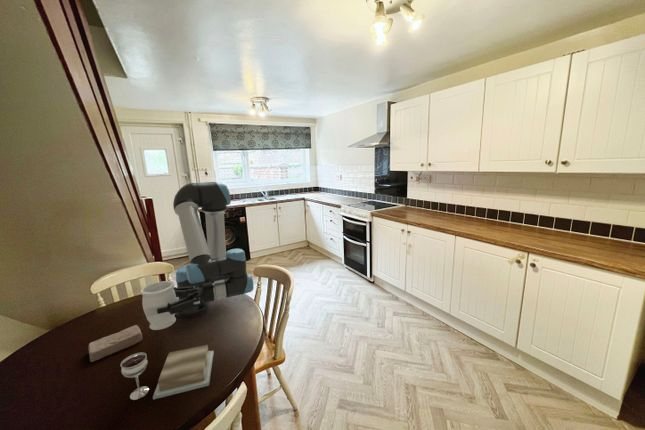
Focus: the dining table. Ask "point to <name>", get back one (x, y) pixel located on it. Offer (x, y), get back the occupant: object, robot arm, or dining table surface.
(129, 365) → the wineglass
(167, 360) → the plinth
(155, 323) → the jar
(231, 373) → the dining table surface
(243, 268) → the robot arm
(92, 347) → the brick
